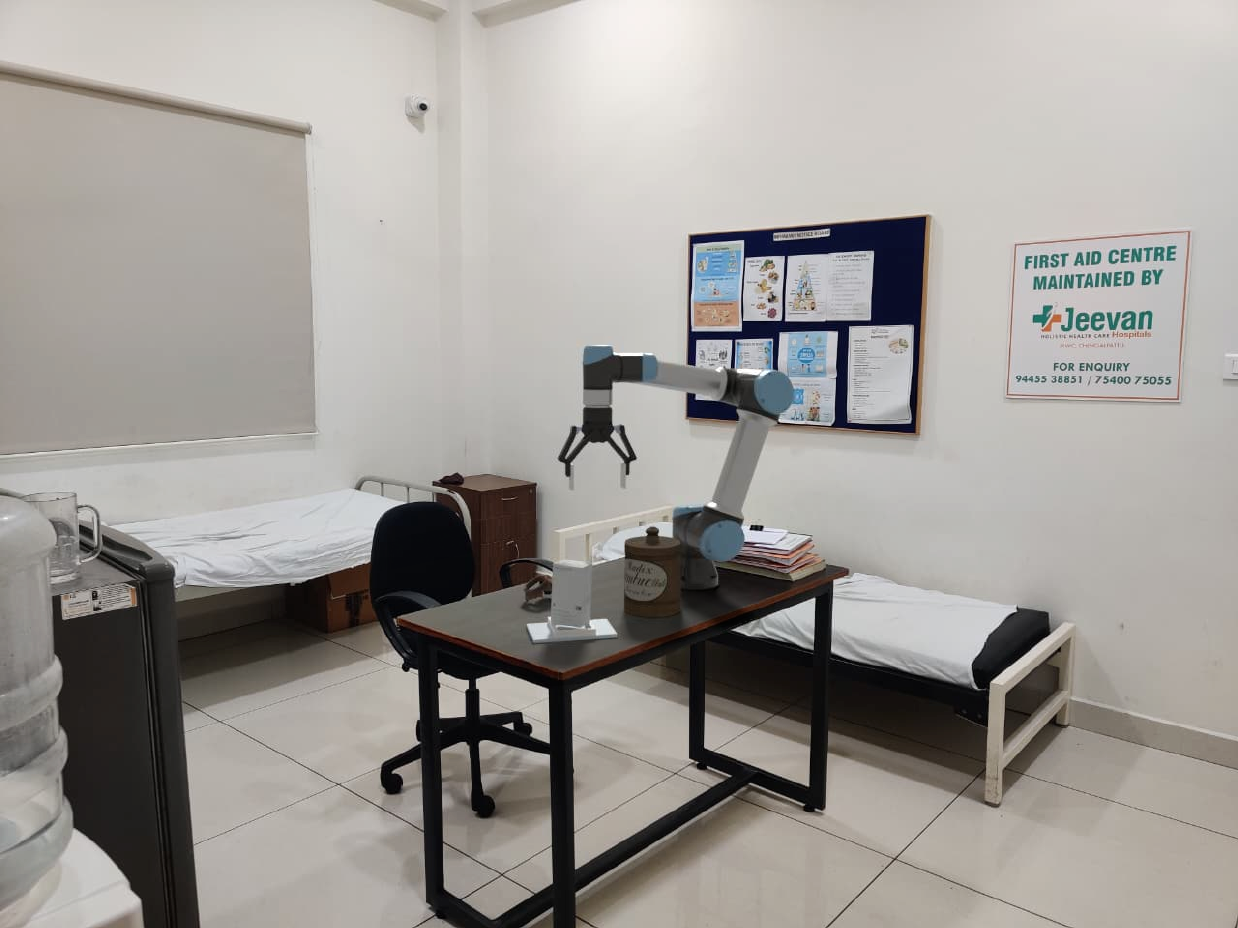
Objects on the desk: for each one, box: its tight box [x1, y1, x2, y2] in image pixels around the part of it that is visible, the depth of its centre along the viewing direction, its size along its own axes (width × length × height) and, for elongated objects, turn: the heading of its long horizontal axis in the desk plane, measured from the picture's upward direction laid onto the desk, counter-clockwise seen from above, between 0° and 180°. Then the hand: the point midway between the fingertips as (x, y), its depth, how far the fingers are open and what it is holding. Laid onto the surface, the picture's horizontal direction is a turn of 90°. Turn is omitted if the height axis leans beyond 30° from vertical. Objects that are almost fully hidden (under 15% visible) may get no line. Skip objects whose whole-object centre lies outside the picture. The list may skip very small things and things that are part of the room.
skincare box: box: [550, 558, 593, 628], centre depth 212 cm, size 8×6×15 cm
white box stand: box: [526, 616, 618, 644], centre depth 213 cm, size 20×12×2 cm, turn 103°
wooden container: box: [623, 525, 682, 618], centre depth 231 cm, size 15×15×22 cm
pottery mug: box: [523, 574, 553, 602], centre depth 239 cm, size 12×10×8 cm
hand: (597, 488), depth 229 cm, fingers open, 13 cm apart
